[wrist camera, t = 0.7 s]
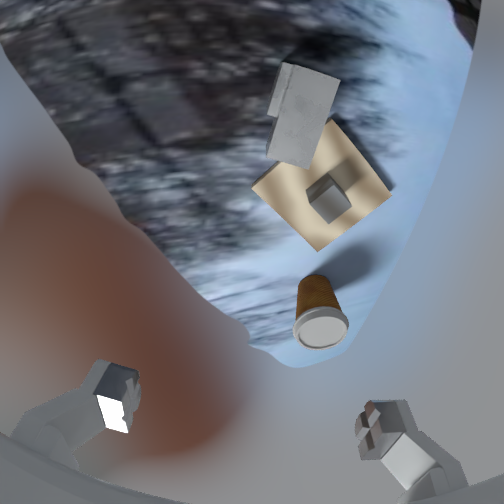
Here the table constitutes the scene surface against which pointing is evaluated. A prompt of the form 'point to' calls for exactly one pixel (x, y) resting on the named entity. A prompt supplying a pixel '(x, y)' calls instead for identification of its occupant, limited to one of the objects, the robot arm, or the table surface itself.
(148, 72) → the table surface
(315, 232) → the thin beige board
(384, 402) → the robot arm
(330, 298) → the disposable coffee cup
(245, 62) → the table surface
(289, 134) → the grey stepped block
